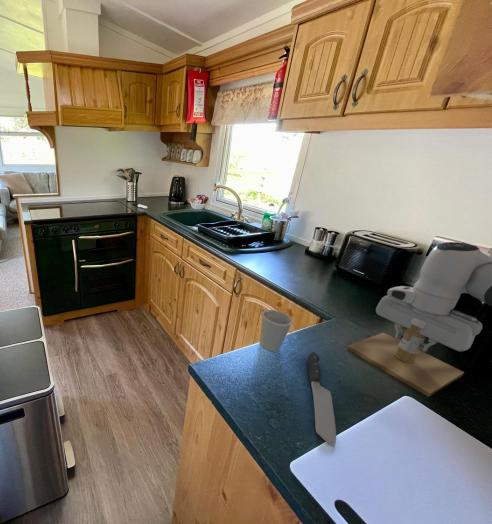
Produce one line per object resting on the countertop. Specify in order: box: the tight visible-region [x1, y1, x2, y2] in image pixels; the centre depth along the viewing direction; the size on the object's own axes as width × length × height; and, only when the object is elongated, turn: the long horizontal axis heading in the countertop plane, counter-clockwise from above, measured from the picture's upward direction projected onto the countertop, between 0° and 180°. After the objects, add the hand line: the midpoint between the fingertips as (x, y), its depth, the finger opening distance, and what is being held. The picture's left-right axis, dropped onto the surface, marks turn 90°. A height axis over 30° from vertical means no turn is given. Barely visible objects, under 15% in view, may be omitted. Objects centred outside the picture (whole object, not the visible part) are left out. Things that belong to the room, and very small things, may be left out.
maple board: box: [346, 332, 465, 398], centre depth 84 cm, size 20×20×1 cm
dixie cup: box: [259, 309, 294, 352], centre depth 86 cm, size 8×8×10 cm
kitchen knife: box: [306, 351, 337, 448], centre depth 70 cm, size 29×3×5 cm
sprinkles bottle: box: [394, 318, 427, 363], centre depth 81 cm, size 5×5×13 cm
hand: (410, 344), depth 82 cm, fingers closed on sprinkles bottle, 4 cm apart
